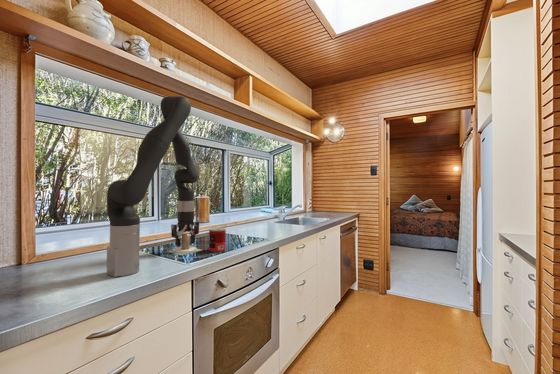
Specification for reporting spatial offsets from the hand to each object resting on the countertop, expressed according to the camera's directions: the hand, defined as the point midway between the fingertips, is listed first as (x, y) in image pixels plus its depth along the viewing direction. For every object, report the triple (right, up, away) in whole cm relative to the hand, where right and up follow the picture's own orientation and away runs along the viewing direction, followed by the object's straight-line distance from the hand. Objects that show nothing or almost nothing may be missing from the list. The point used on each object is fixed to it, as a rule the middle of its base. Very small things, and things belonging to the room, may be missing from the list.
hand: (185, 244), depth 122 cm
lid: (0, -3, 0) cm, 3 cm away
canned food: (+15, -4, +2) cm, 15 cm away
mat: (0, -3, 0) cm, 3 cm away
